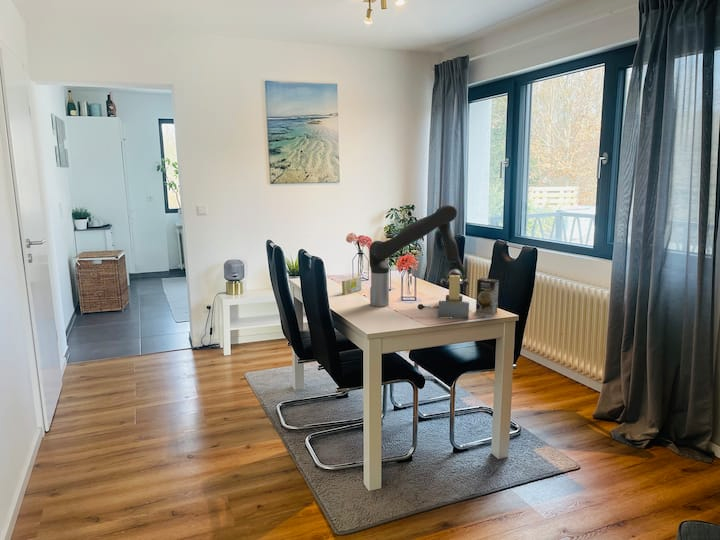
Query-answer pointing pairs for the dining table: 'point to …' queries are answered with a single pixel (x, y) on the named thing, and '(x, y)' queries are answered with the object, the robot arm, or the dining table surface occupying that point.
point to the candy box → (351, 285)
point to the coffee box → (487, 295)
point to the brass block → (454, 288)
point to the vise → (450, 309)
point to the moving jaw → (448, 298)
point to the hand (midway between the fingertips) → (454, 285)
